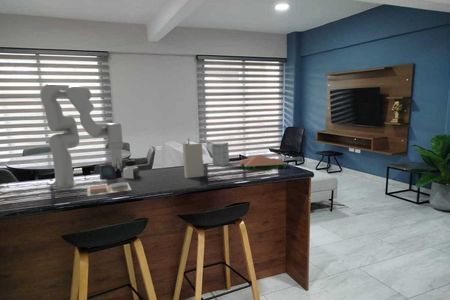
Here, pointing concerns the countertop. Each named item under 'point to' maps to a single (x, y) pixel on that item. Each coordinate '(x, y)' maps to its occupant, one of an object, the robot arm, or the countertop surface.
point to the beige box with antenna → (193, 160)
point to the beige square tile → (119, 186)
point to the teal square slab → (98, 189)
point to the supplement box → (220, 154)
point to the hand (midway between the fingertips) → (118, 177)
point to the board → (109, 190)
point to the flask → (106, 171)
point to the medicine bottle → (130, 170)
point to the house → (260, 162)
